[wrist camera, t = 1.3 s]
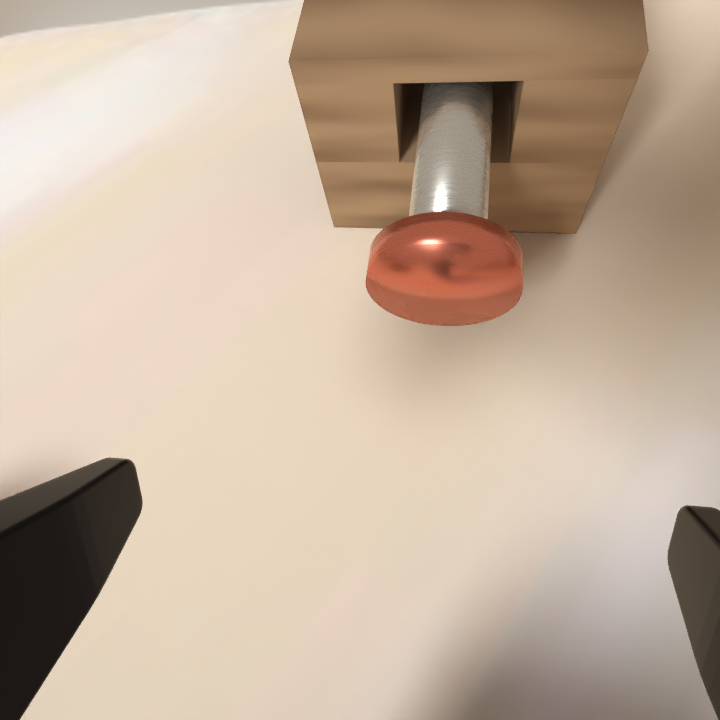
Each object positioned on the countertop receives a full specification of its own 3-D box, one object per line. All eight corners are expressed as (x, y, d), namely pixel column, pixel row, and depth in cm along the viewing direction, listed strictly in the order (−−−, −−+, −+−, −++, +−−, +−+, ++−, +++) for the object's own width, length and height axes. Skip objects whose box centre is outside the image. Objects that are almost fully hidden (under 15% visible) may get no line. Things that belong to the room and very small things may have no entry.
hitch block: (575, 233, 26) (648, 51, 17) (334, 227, 28) (288, 61, 19) (571, 111, 29) (631, -96, 20) (354, 113, 31) (323, -74, 22)
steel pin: (511, 329, 20) (535, 247, 15) (374, 321, 21) (356, 242, 16) (517, 37, 26) (536, -86, 21) (411, 41, 27) (406, -77, 22)
